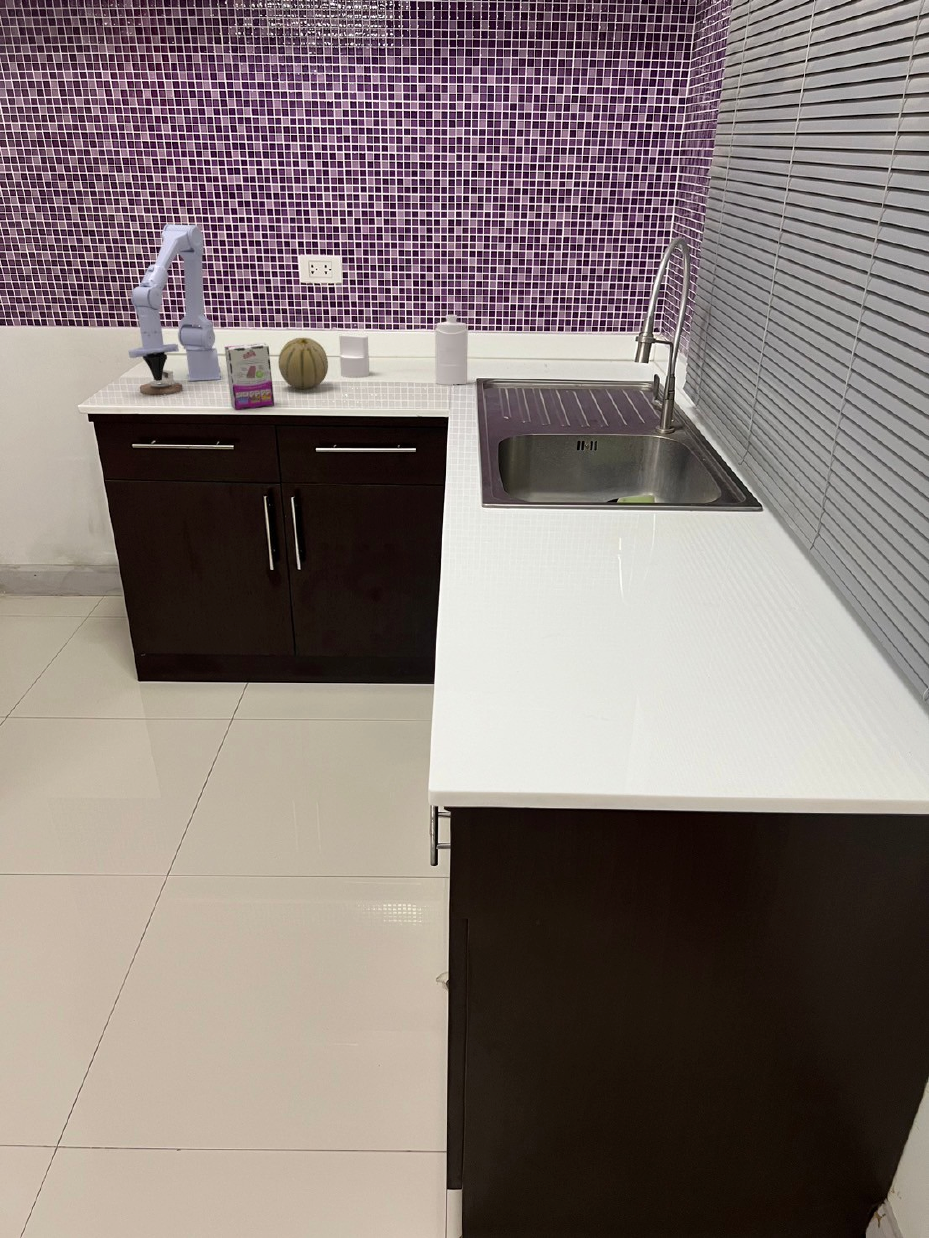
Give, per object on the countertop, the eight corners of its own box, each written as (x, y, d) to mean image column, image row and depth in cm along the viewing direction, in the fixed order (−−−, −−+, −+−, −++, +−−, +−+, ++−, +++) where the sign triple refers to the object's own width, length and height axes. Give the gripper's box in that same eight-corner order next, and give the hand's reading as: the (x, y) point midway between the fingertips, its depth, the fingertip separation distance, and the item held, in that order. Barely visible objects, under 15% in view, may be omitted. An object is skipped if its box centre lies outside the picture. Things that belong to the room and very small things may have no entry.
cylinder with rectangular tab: (335, 376, 292) (333, 337, 287) (349, 370, 300) (347, 332, 294) (361, 378, 289) (359, 339, 284) (374, 373, 297) (373, 334, 291)
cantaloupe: (310, 380, 286) (307, 330, 280) (339, 388, 277) (337, 336, 270) (270, 388, 277) (265, 336, 270) (299, 396, 268) (295, 343, 261)
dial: (145, 386, 272) (143, 370, 270) (161, 382, 276) (159, 367, 274) (164, 389, 268) (162, 374, 266) (180, 385, 273) (178, 370, 271)
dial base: (182, 384, 280) (181, 380, 279) (183, 393, 270) (182, 389, 269) (140, 387, 277) (139, 382, 276) (140, 396, 267) (139, 391, 266)
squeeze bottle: (466, 385, 282) (467, 382, 286) (467, 317, 273) (468, 314, 277) (435, 385, 282) (436, 381, 287) (434, 316, 273) (435, 314, 278)
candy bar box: (269, 402, 262) (264, 342, 254) (274, 406, 258) (269, 345, 250) (230, 406, 257) (223, 345, 250) (235, 410, 253) (228, 348, 246)
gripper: (134, 336, 255) (142, 386, 261) (181, 330, 264) (187, 378, 270) (122, 333, 259) (129, 382, 265) (168, 327, 269) (174, 374, 275)
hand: (158, 380), depth 268 cm, fingers closed
